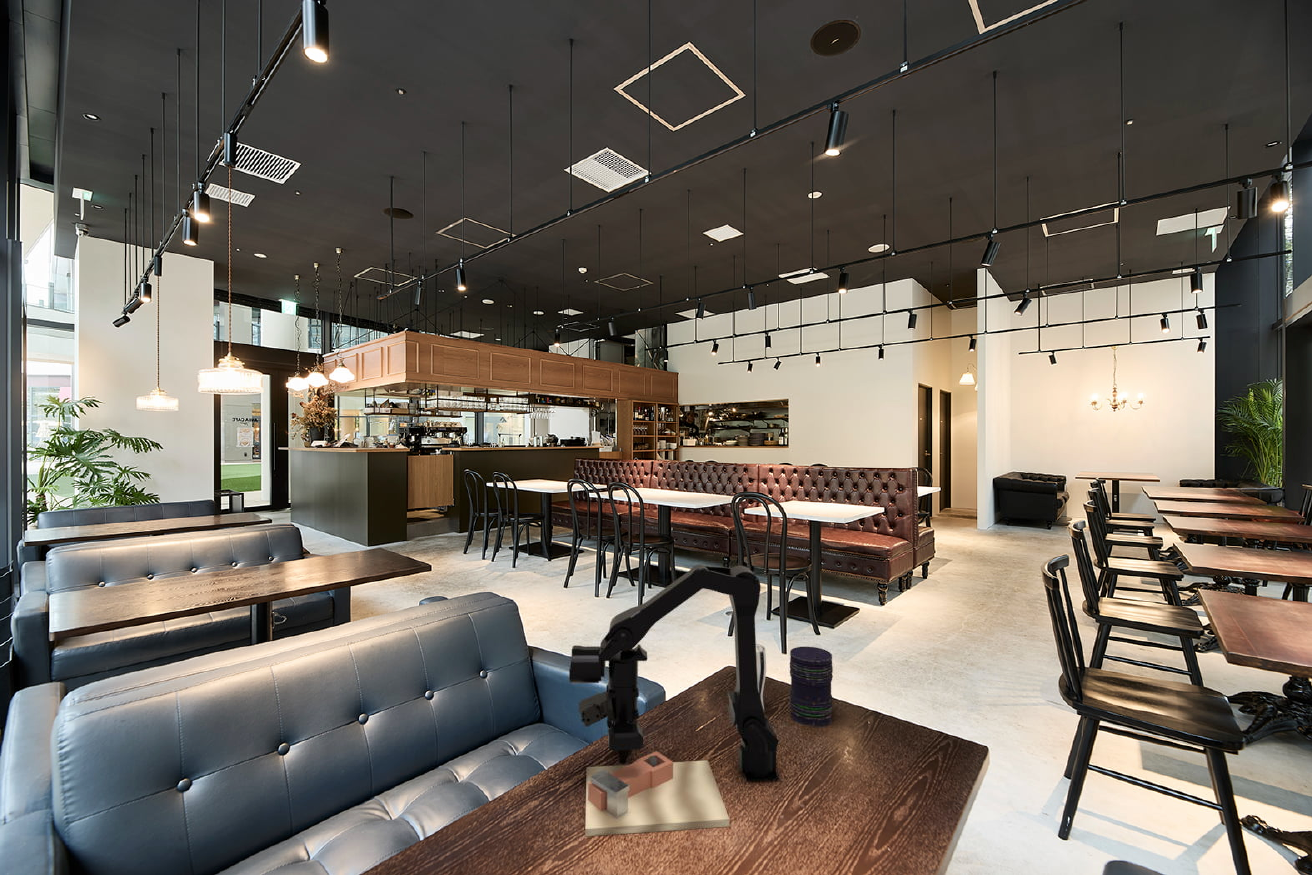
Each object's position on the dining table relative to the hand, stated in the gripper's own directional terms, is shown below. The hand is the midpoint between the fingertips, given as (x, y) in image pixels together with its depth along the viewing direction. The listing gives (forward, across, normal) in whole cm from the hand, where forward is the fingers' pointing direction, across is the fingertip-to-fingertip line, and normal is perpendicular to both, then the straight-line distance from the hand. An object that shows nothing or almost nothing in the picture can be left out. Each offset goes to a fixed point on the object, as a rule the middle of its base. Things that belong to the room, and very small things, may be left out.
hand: (622, 762), depth 110 cm
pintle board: (+2, +8, +5) cm, 10 cm away
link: (+1, +7, +1) cm, 7 cm away
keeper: (+1, +12, -3) cm, 12 cm away
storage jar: (+2, -18, +46) cm, 49 cm away
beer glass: (+2, -23, +33) cm, 41 cm away
